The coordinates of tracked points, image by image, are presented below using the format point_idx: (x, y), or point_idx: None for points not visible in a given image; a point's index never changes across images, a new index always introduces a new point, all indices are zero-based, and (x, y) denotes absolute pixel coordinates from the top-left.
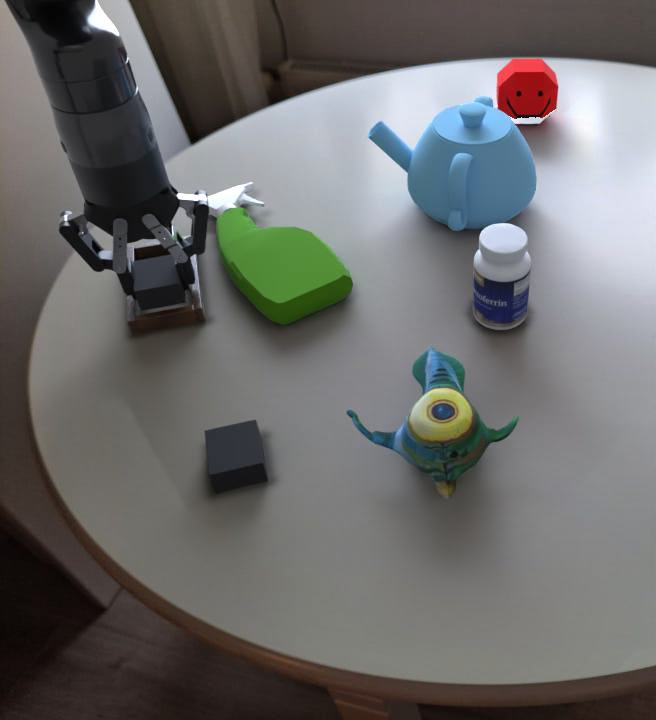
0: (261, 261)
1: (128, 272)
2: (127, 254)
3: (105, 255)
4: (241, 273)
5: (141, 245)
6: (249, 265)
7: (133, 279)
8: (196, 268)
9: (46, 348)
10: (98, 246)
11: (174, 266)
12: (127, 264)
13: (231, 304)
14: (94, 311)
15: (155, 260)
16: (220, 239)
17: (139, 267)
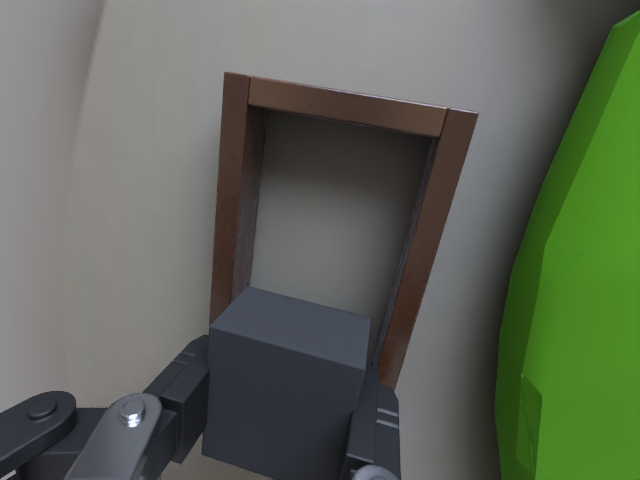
0: (636, 453)
1: (174, 461)
2: (225, 130)
3: (61, 476)
4: (536, 458)
5: (275, 96)
6: (583, 447)
7: (199, 434)
8: (415, 314)
9: (75, 324)
10: (9, 470)
11: (336, 426)
12: (165, 456)
13: (452, 406)
14: (153, 266)
15: (281, 366)
16: (567, 213)
17: (226, 370)
